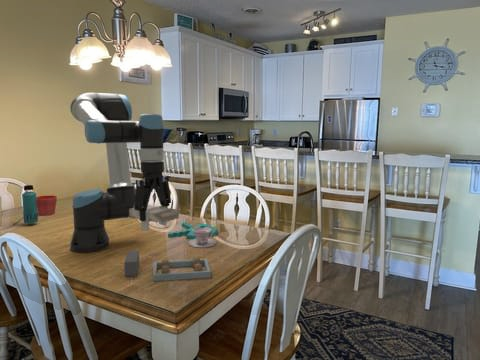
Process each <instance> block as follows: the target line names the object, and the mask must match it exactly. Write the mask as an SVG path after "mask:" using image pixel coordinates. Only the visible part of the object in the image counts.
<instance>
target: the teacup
mask: <svg viewBox="0 0 480 360" xmlns="http://www.w3.org/2000/svg"><path fill="white" fill-rule="evenodd" d="M211 230H212V229H210V228H195V229H193V230H192V231H193V233H194V234H195V236H196V239H189V241H187V244H188V246H190V247H193V248H200V249H201V248H211V247H213V246H215V245H216V243H217V242H216V241H215V240H214V239H212V237H213V236H212V234H213V231H211ZM210 232H212V233H211V235H210V236H209V233H210ZM208 236H209V237H208Z"/></svg>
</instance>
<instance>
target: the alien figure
mask: <svg viewBox="0 0 480 360" xmlns="http://www.w3.org/2000/svg"><path fill="white" fill-rule="evenodd" d="M181 228H184V229H186V230H180V231H178V230H177V231H176V230H175V231H174V232H171V231H170V232H168V233H167V238H170V239H171V238H174V237H177V238H179V237H180V236H183V237H184V236H185V237H186V240H193V239H196V236H195V234H194V233H193V231H192V230H193V229H195V228H210V229H212V230H211V231H213V234H212V236H211V237H215V236H216V235H217V234H218V232H219V229H218V228H215V226H212V225H209V223H198V224H197V225H196V226H193V225H192V224H191V223H188V222H187V221H186V222H185V221H183V222H182V223H181ZM211 233H212V232H210V233H209V236H208V238H209V237H210V235H211Z"/></svg>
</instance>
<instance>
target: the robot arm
mask: <svg viewBox="0 0 480 360" xmlns="http://www.w3.org/2000/svg"><path fill="white" fill-rule="evenodd" d="M132 109H133V108H132V105H131V101H130V99H129V98H128V96H127V95H125V94H120V93H107V92H105V93H104V92H85V93H82V94H79V95H77V96H76V97H75V98H74V99H72V101H71V103H70V113H71V115H72V116H73V118H74V119H75V120H76V121H78V122H81V123H82V125H84V136H85V140H86V141H87V142H88V143H89V144H90V143H91V144H105V145H106V146H105V147H106V157H107V167H108V168H107V169H108V176H109V178H108V179H109V184H108V186H107V187H106V191H105V192H104V191H103V190H102V189H101V188H100V189H99V188H97V189H88V190H84V191H80V192H78V193H75V194H74V196H73V197H72V213H73V214H72V215H73V233H72V236H71V241H70V250H71V251H72V252H74V253H75V252H76V253H94V252H99V251H102V250H105V249H107V248H109V246H110V244H111V243H110V238H109V235H108V233H107V229H106V228H105V221H109V220H118V219H119V220H120V219H128V218H129V209H131V208H134V209H135V210H137V211H139V212H140V219H139V220H140V226H141V228H140V230H141V231H146V232H148V231H150V221H149V216H148V211H146V210H147V206H148V205H149V202H150V198H151V195H152V193H153V191H155V193H156V196H157V198H158V201H159V203H160V205H159V206H158V207H164V208H168V207H170V205H171V203H172V199H171V198H172V197H171V190H170V185H169V181H170V177H169V176H168V175H163V173H164V171H165V163H164V161H163V160H164V122H163V116H162V115H161V114H157V113H156V114H155V113H152V114H151V113H143V114H139V119H138V120H132V118H133V115H132V113H133V110H132ZM127 143H129V144H131V143H133V144H134V143H138V144H139V143H140V144H139V145H140V146H139V148H140V160H141V162H140V172H141V173H142V177H141V179H136V180H135V185H134V184H133V183H132V181H131V172H130V163H129V151H128V144H127ZM135 187H136V188H135ZM167 223H168V222H165V223H159V222H158V224H159V225H162V226H167Z"/></svg>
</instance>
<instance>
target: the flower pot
mask: <svg viewBox="0 0 480 360" xmlns="http://www.w3.org/2000/svg"><path fill="white" fill-rule="evenodd" d="M36 199H37V209H38V210H37V213H38V216H52V215H54V214H55V212H56V207H57V199H58V197H57V196H56V195H51V194H50V195H39V196H36Z"/></svg>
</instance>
